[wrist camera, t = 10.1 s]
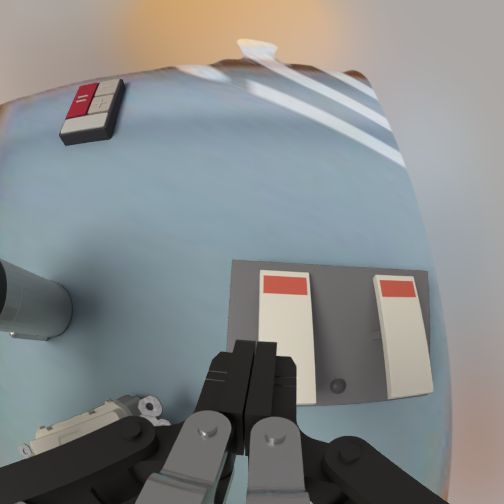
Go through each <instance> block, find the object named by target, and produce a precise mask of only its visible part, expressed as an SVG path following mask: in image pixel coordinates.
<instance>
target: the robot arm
mask: <svg viewBox="0 0 504 504" xmlns="http://www.w3.org/2000/svg"><path fill="white" fill-rule="evenodd" d="M71 314H72V304H71V300H70V297H69V294H68V293H67V291H66V290H65V289H64V288H63V287H62V286H61V285H59V284H57V283H55V282H53V281H50V280H47V279H45V278H43V277H40V276H38V275H36V274H33V273H31V272H29V271H27V270H24V269H22V268H20V267H18V266H15V265H13V264H11V263H9V262H7V261H4V260H2V259H0V331H4V332H9V334H10V335H11V337H13V338H19V339H29V340H41V341H46V340H47V339H48V338H49V337H55V336H58V335H60V334H61V333H62V332H64V330H65V329H66V328H67V326H68V324H69V322H70V319H71ZM276 354H277V342H265V341H257V346H256V341H251V340H238V339H236V341H235V345H234V349H233V352H220V353H219V354H218V355H217V356H216V357H215V358H214V359H213V360H212V362H211V365H210V368H209V372H208V374H207V376H206V380H205V382H204V385H203V388H202V391H201V394H200V397H199V400H198V403H197V406H196V409H195V411H194V413H193V414H192V415H191V416H189V417H188V418H187V419H186V420H185V421H183V422H181V423H179V424H175V425H165V426H154V425H153V424H152V423H151V422H150V421H149V420H148V419H146V418H144V417H141V416H127V417H124V418H121V419H119V420H117V421H115V422H113V423H111V424H108V425H106V426H104V427H102V428H100V429H97V430H95V431H93V432H91V433H88V434H86V435H84V436H82V437H79V438H77V439H75V440H72V441H70V442H67V443H65V444H63V445H60V446H58V447H55V448H53V449H50V450H48V451H45V452H42V453H40V454H37V455H35V456H32V457H29V458H26V459H24V460H21V461H18V462H15V463H12V464H10V465H7V466H4V467H1V468H0V504H226V500H227V497H228V494H229V490H230V487H231V484H232V480H233V477H234V462H235V457H236V455H243V454H244V448H245V456H248V489H247V496H246V504H310V501H312V503H313V504H449V503H448V502H446V501H445V500H443V499H442V498H440V497H439V496H438V495H436V494H435V493H433V492H432V491H430V490H429V489H428V488H426V487H425V486H423V485H422V484H421V483H419V482H418V481H417V480H415V479H414V478H413V477H411V476H410V475H409V474H407V473H406V472H405V471H403V470H402V469H401V468H399V467H398V466H397V465H395V464H394V463H393V462H391V461H390V460H389V459H388V458H386V457H385V456H384V455H382V454H381V453H380V452H379V451H377V450H376V449H375V448H374V447H372V446H371V445H370V444H369V443H367V442H366V441H365V440H363V439H361V438H358V437H354V436H343V437H339V438H336V439H334V440H333V441H331V442H330V443H326V442H322V441H319V440H315V439H312V438H310V437H308V436H307V435H305V434H304V433H303V432H302V431H301V430H300V429H299V427H298V425H297V421H296V400H297V388H296V387H297V379H296V378H297V366H296V364H295V363H294V361H293V359H292V358H291V357H290V356H276Z"/></svg>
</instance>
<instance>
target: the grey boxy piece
mask: <svg viewBox="0 0 504 504" xmlns="http://www.w3.org/2000/svg"><path fill="white" fill-rule="evenodd" d="M147 403H151V404H153V407H154V408H153V410H149V409H148V408H147V407H146V404H147ZM162 409H163V406H162V405H161V403H160V401H159V399H158V398H157V397H154V396H152V395H150V396H148V397H145V398H143V399H140V398H139V397H137V396H135V397H133V398H132V397H131V396H130V395H125V396H123V397H121V398H119V399H116V400H114V401H112V400H110V399H109V400H107V401H105V404H104V405H102V406H100V407H97V408H95V409H92V410H90V411H87V412H85V413H82V414H80V415H77V416H75V417H73V418H70V419H68V420H65V421H63V422H60V423H57V424H55V425H52V426H49V427H47V428H46V427H45V426H42V427H39V431H37V432H36V436H35V440H32V441H30V446H31V448H32V449H33V451H34V453H32V451H31V449H30V447H29V446H28V445H26V444H22V445H19V452H20V454H21V455H22V457H23V458H24V459H26V458H29V457H32V456H35V455H37V454H40V453H42V452H45V451H48V450H50V449H53V448H55V447H58V446H60V445H63V444H65V443H67V442H70V441H72V440H75V439H77V438H79V437H82V436H84V435H86V434H88V433H91V432H93V431H95V430H97V429H100V428H102V427H104V426H106V425H108V424H111V423H113V422H115V421H117V420H119V419H121V418H124V417H127V416H141V417H144V418H146V419H148V420H149V421H150V422H151V423H152V424H153V425H154V426H161V425H171V423H170V421H168V420H166V419H163V418H162V419H159V420H158V419H157V417H156V416H158V415H161V413H162ZM24 449H25V450H26V451H27V454H26V453H25V452H24Z"/></svg>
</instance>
